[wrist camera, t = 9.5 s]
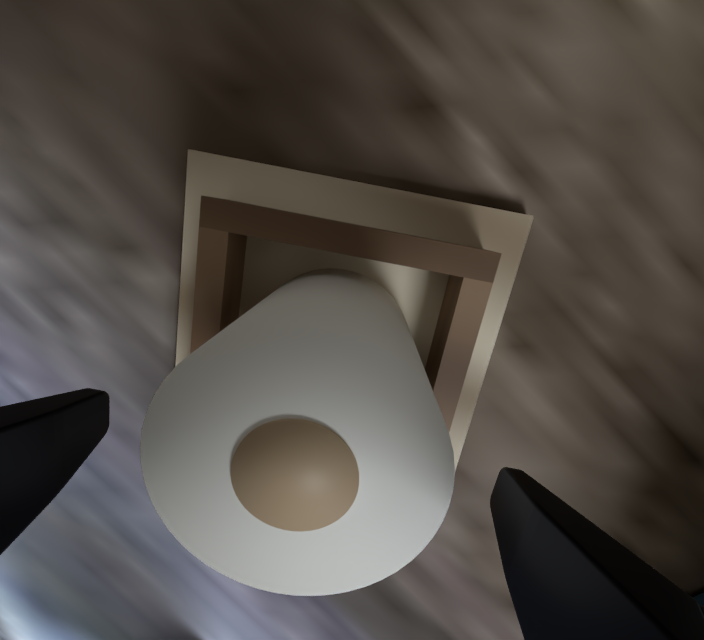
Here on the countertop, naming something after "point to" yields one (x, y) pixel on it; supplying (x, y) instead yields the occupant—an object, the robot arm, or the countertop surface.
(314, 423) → the towel roll
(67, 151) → the countertop surface
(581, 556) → the robot arm
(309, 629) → the countertop surface
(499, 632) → the countertop surface
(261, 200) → the holder
